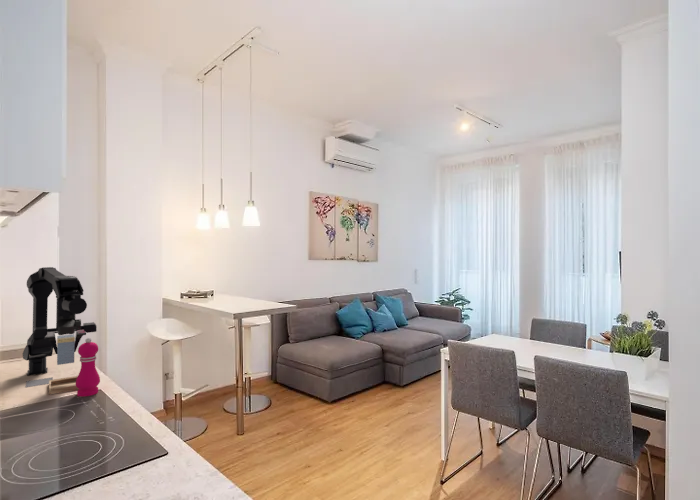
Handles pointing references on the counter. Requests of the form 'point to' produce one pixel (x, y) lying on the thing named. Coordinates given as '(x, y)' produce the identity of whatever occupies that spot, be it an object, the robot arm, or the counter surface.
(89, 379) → the pepper mill
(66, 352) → the tin
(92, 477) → the counter surface
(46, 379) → the mat
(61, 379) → the beige shallow tray
